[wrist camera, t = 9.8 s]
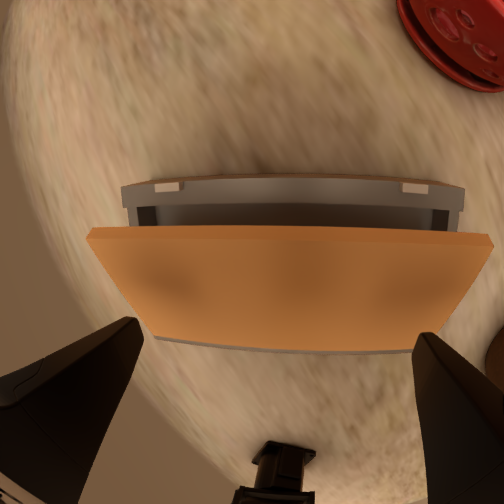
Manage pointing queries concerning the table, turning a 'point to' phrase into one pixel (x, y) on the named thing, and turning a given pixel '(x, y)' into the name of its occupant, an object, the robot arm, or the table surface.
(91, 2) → the table surface
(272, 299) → the cover
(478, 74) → the plant pot
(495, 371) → the plant pot
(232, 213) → the grey rectangular tray
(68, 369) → the robot arm
